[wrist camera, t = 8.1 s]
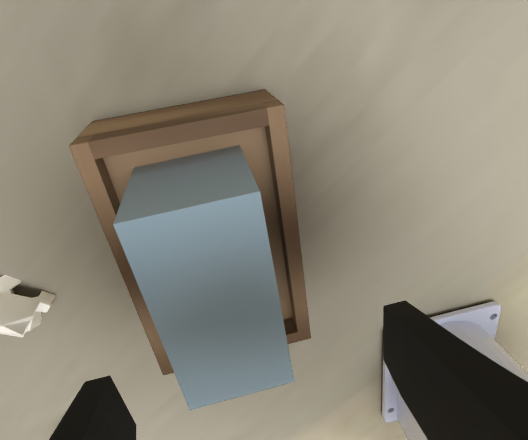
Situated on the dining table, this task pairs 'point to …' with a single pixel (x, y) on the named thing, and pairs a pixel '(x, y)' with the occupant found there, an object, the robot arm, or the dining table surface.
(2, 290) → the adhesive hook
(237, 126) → the brown wooden tray
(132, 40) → the dining table surface
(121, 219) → the blue-grey rectangular block
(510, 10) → the dining table surface
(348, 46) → the dining table surface
